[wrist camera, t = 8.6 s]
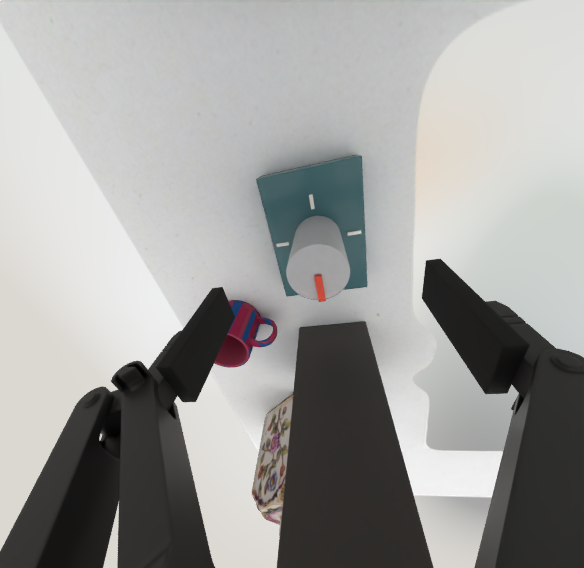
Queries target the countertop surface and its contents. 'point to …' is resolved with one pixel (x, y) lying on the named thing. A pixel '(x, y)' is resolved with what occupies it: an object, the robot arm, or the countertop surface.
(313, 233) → the dial
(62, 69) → the countertop surface
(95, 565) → the robot arm
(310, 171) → the dial panel
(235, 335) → the cup
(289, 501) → the button box
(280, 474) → the decorative jar
